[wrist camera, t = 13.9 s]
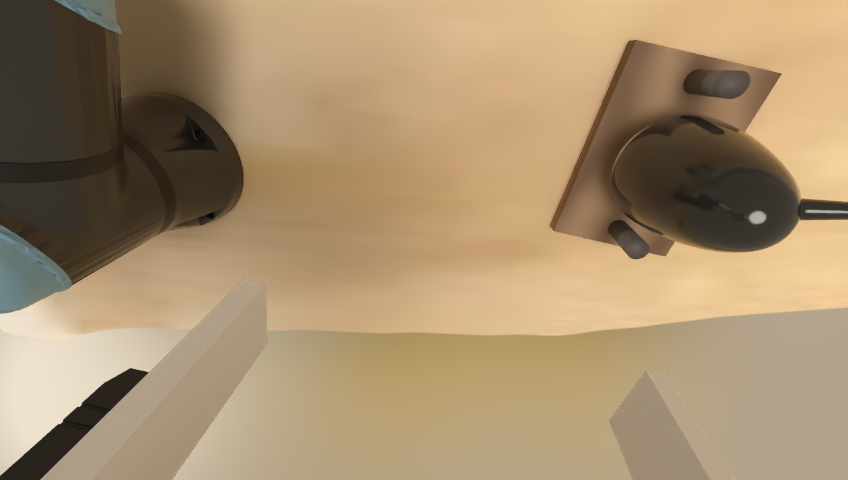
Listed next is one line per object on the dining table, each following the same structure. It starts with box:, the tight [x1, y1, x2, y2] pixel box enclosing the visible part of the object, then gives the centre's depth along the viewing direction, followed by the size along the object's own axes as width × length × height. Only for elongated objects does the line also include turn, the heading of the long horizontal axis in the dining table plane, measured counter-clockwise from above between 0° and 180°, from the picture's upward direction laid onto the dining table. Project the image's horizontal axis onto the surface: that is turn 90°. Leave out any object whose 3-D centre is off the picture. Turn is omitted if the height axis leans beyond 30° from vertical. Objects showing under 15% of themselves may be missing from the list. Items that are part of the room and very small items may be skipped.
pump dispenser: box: [611, 114, 848, 253], centre depth 27 cm, size 10×10×15 cm
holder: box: [551, 40, 781, 259], centre depth 32 cm, size 13×19×6 cm
